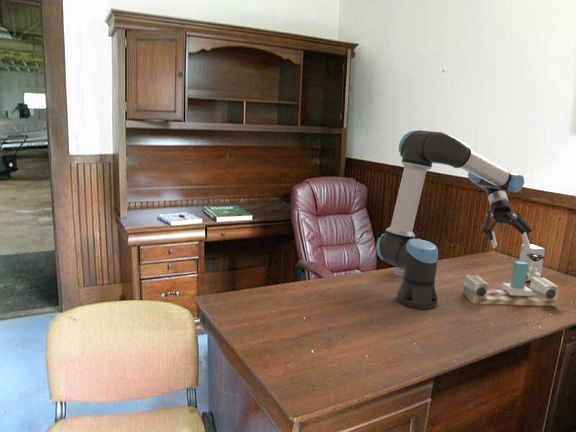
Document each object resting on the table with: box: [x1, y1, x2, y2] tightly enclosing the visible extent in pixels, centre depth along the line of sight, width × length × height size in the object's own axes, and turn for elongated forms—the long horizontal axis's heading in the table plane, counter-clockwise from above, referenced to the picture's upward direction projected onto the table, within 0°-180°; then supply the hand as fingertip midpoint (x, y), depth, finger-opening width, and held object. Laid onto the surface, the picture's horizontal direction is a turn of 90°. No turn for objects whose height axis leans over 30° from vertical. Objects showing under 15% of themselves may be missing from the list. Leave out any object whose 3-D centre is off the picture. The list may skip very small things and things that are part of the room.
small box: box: [518, 243, 546, 276], centre depth 212 cm, size 8×6×13 cm
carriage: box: [501, 260, 533, 296], centre depth 178 cm, size 8×8×13 cm
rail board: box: [462, 274, 559, 307], centre depth 179 cm, size 32×10×8 cm, turn 91°
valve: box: [525, 253, 545, 282], centre depth 202 cm, size 7×7×12 cm
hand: (511, 247), depth 185 cm, fingers open, 13 cm apart
